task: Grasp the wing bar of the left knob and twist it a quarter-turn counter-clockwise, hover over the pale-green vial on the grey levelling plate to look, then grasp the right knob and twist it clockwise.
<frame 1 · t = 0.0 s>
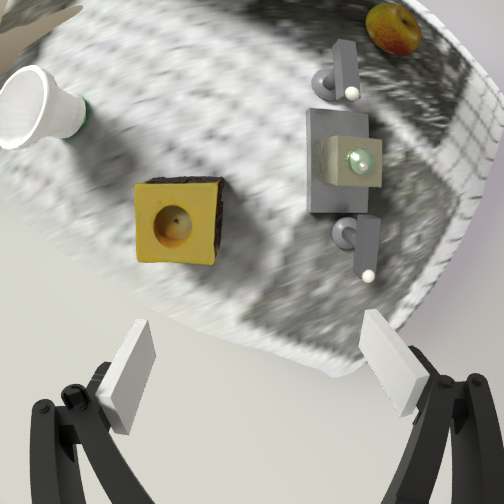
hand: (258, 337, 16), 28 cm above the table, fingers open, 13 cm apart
fruit: (382, 37, 34), on the table
candle: (189, 209, 42), on the table
level base: (335, 161, 40), on the table
cup: (71, 116, 36), on the table
knob 2: (338, 77, 32), point 5 cm above the table, hinge at 0.0°
knob 1: (358, 242, 39), point 5 cm above the table, hinge at 0.0°
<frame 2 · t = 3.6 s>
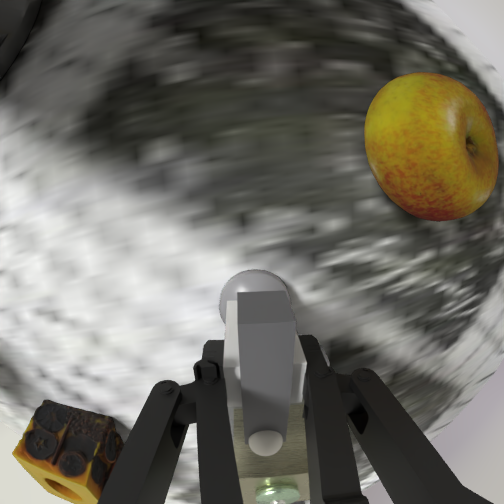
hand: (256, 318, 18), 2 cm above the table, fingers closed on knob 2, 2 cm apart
fruit: (401, 147, 18), on the table
candle: (88, 430, 26), on the table
level base: (266, 409, 25), on the table
knob 2: (259, 347, 16), point 5 cm above the table, hinge at 0.0°, touching gripper
knob 1: (286, 496, 23), point 5 cm above the table, hinge at 0.0°
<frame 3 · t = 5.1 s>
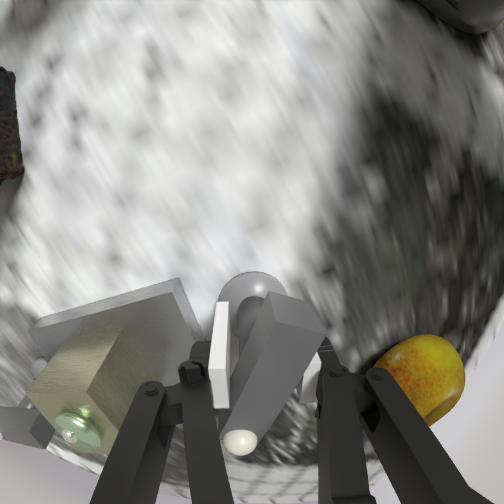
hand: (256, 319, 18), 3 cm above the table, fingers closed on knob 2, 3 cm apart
fruit: (396, 359, 24), on the table
level base: (121, 346, 22), on the table
knob 2: (256, 348, 16), point 5 cm above the table, hinge at 53.8°, touching gripper
knob 1: (30, 406, 18), point 5 cm above the table, hinge at 0.0°
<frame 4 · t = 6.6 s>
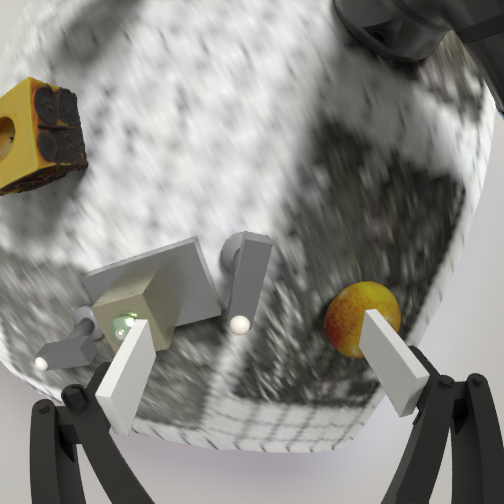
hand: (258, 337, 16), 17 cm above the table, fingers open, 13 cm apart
fruit: (350, 304, 36), on the table
candle: (52, 142, 28), on the table
level base: (152, 288, 34), on the table
knob 2: (245, 272, 28), point 5 cm above the table, hinge at 61.4°
knob 1: (73, 341, 29), point 5 cm above the table, hinge at 0.0°
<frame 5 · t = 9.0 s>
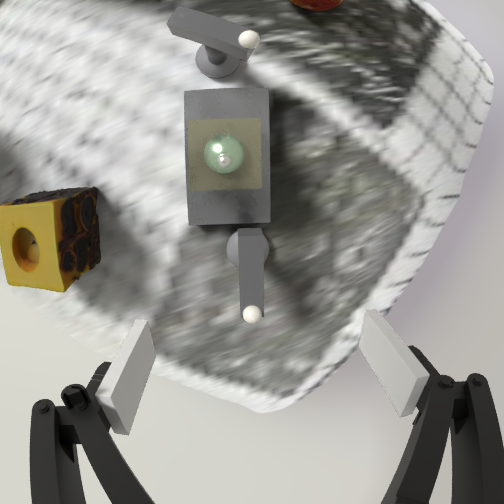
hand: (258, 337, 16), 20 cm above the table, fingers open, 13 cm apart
candle: (69, 224, 33), on the table
level base: (228, 155, 32), on the table
knob 2: (217, 43, 23), point 5 cm above the table, hinge at 62.1°
knob 1: (249, 264, 30), point 5 cm above the table, hinge at 0.0°
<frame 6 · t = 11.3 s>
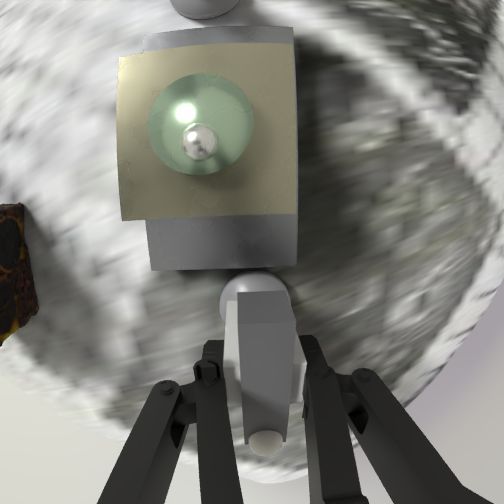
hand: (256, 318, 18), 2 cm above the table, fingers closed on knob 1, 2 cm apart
level base: (220, 144, 17), on the table
knob 1: (259, 347, 16), point 5 cm above the table, hinge at 0.0°, touching gripper
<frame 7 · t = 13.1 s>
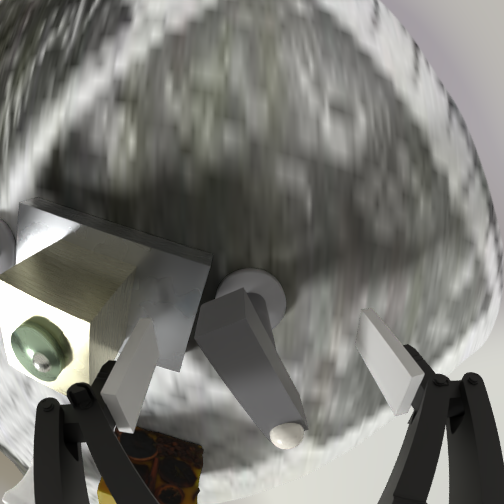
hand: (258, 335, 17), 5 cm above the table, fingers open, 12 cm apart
candle: (154, 449, 27), on the table
level base: (104, 278, 20), on the table
cup: (54, 462, 30), on the table
knob 1: (256, 344, 16), point 5 cm above the table, hinge at -47.2°
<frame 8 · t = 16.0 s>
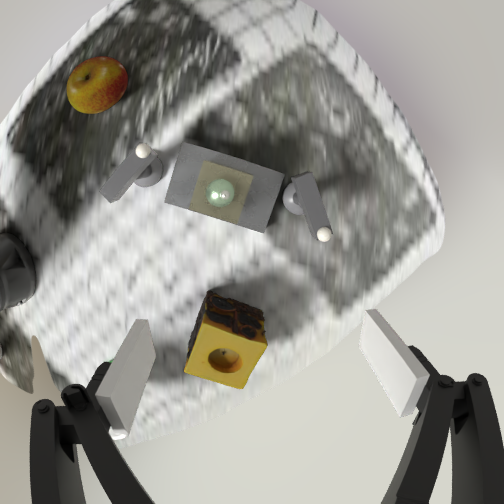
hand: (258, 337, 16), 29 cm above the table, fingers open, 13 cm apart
fruit: (107, 89, 36), on the table
candle: (225, 322, 49), on the table
level base: (224, 186, 42), on the table
knob 2: (136, 170, 35), point 5 cm above the table, hinge at 62.1°
knob 1: (307, 203, 38), point 5 cm above the table, hinge at -49.3°
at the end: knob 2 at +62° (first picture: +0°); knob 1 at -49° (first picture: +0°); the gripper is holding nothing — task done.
